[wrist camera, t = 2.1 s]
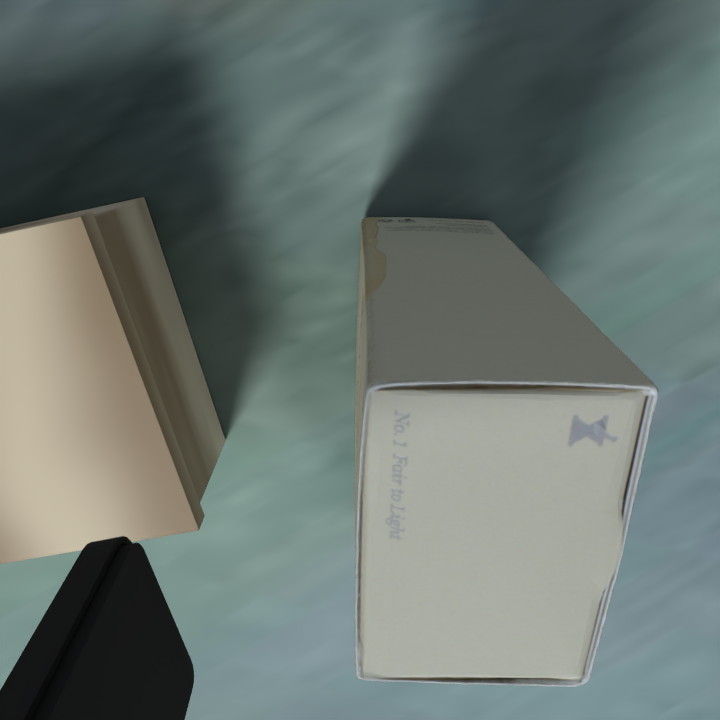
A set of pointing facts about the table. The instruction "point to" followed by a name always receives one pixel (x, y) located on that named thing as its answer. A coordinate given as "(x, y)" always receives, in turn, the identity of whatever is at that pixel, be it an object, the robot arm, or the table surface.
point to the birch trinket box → (97, 387)
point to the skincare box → (485, 461)
